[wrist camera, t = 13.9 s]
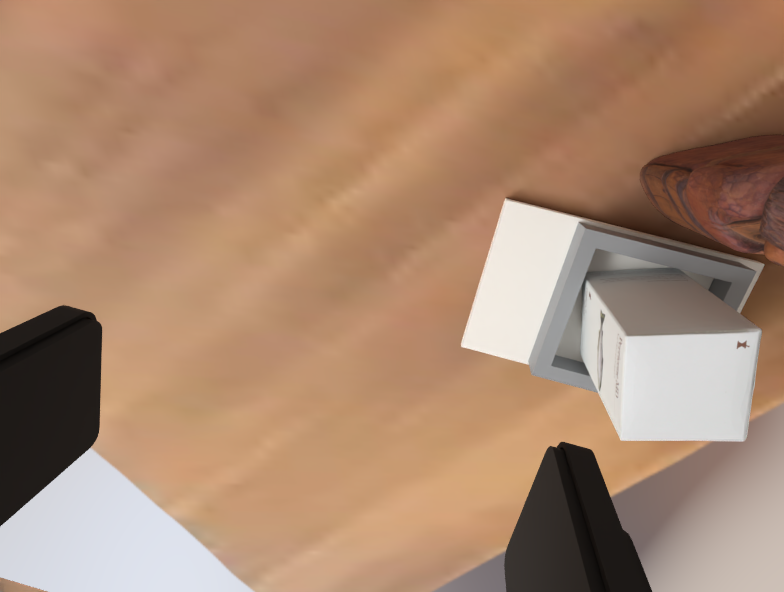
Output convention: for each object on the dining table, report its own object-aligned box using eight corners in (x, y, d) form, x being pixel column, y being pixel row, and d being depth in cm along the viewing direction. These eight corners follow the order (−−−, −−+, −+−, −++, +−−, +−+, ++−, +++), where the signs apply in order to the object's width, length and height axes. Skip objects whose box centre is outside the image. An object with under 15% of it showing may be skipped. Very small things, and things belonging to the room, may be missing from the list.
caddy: (505, 197, 41) (508, 204, 37) (757, 261, 40) (784, 274, 36) (461, 341, 45) (460, 359, 42) (687, 402, 44) (704, 424, 41)
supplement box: (579, 269, 41) (624, 331, 29) (679, 265, 40) (769, 328, 28) (576, 354, 43) (617, 443, 31) (670, 352, 42) (751, 444, 30)
